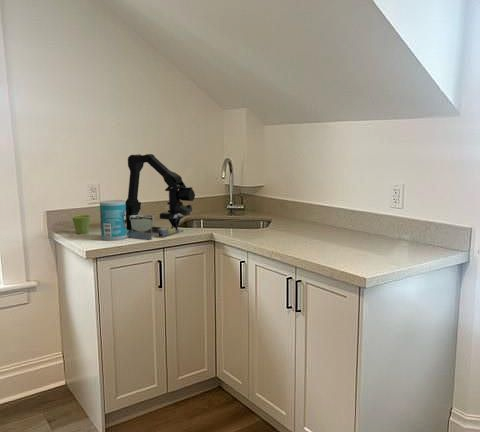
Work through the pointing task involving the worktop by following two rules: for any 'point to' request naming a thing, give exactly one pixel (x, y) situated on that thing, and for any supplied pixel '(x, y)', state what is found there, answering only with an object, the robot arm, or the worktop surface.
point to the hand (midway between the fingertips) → (175, 230)
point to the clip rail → (165, 232)
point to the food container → (142, 223)
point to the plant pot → (81, 223)
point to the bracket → (143, 235)
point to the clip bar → (171, 230)
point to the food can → (113, 220)
